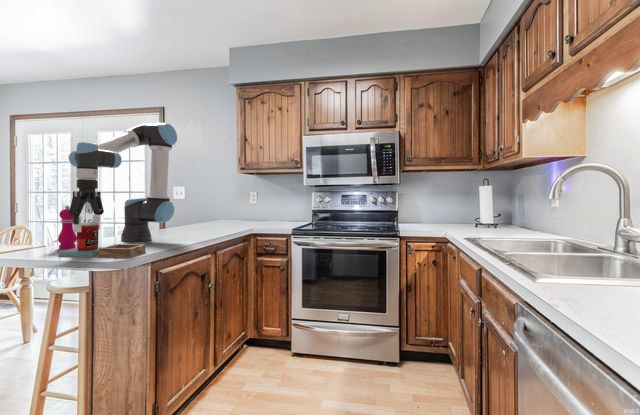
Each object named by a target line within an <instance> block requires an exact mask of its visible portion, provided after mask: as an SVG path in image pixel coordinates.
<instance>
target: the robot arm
mask: <svg viewBox="0 0 640 415" xmlns="http://www.w3.org/2000/svg"><path fill="white" fill-rule="evenodd" d="M177 141H178V134H177V130H176V129H175V127H174V126H173V125H171V123H165V122H157V123H155V122H154V123H142V124H139V125H136V126H133V127H131V128H128V129H126V130H124V131H123V133H121V134H119V135H117V136H115V137H112V138H110V139H107V140H105V141H102V142H100V143H94V142H85V141H81V142H78V143H77V144H76V150H73V151H71V152H70V153H69V155H68V161H69V163H70V164H71V165H72V166H73V167H75V168H76V174H75V175H76V178H77V180H76V188H77V189H78V190H77V191H75V190H73V192H72V199H71V203H70V205H69V207H70V208H69V209H70V210H69V215H70V216H73V230H74V232H75V233H77V232H81V223H82V215H81V214H82V211H83V210H84V207H85V205H86V203H89V205H90V207H91V209H92V212H93V214H92V223H98V225H99V230H101V216H102V215H103V214H104V212H105V210H104V206H103V203H102V202H103V201H102V199H101V198H102V197H101V191H96V189H98V187H99V185H98V184H99V182H98V180H97V179H98V177H99V176H98V172H99V171H98V168H109V169H116V168H119V167H120V165H121V164H122V162H123V161H122V159H123V158H122V156H121V154H120V153H121V152H123V151H125V150H126V151H127V149H128V150H129V149H130V148H137V147H139V146H148V148H149V149H150V150H151V154H150V155H151V161H150V182H149V185H150V186H149V195H147V196H146V197H141V198H130V199H126V200H125V201H124V206H123V208H124V227H123V230H122V233H121V235H120V242H128V243H129V242H130V243H132V242H134V243H135V242H139V243H140V242H147V241H152V233H151V230H150V227H149V223H160V224H161V223H167V222H169V221H170V220H171V219H172V218H173V216H174V214H175V205H174V204H173V202H172V201H171V199H170V198H171V197H169V196H168V180H169V161H170V160H169V159H170V158H169V157H170V156H169V155H170V151H172V150H173V146H174V145H175V144H176V143H177Z"/></svg>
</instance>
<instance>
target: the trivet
mask: <svg viewBox="0 0 640 415" xmlns="http://www.w3.org/2000/svg"><path fill="white" fill-rule="evenodd" d="M102 247H103V246H98V249H95V250H78V249H77V247H76V248H73V249H62V250H58V257H70V258H71V257H72V258H74V257H77V258H95V257H99V248H102Z"/></svg>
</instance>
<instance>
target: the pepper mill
mask: <svg viewBox="0 0 640 415" xmlns="http://www.w3.org/2000/svg"><path fill="white" fill-rule="evenodd" d="M69 210H70V205H65V206H64V209H62V210H60V211H59V218H61V219H60V223H61V230H60V233H59V234H58V236H57V237H58V238H57V242H58V243H59V245H58V249H59V250H68V249H73V248H77V233H76V232H74V224H73V216H70V215H69Z"/></svg>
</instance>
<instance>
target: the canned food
mask: <svg viewBox="0 0 640 415" xmlns="http://www.w3.org/2000/svg"><path fill="white" fill-rule="evenodd" d="M99 230H100V229H99V225H98V223H93V222H81V232H76V236H77V240H76V248H77V249H78V250H95V249H98V247H99Z"/></svg>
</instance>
